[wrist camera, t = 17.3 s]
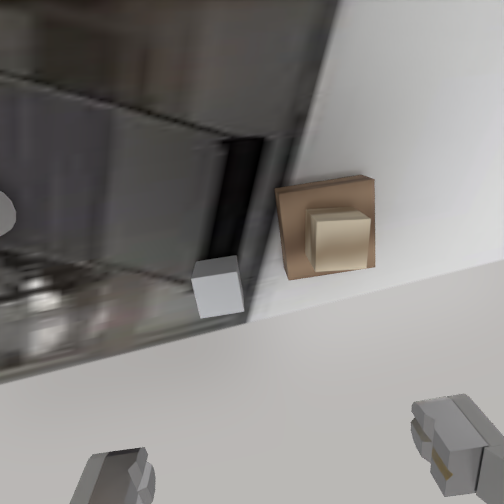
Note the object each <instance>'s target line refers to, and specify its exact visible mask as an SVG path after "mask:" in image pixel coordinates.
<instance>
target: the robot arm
mask: <svg viewBox="0 0 504 504" xmlns="http://www.w3.org/2000/svg"><path fill="white" fill-rule="evenodd" d="M412 413H413V414H414V416H415V418H414V419H413V420H412V422H411V433H412V436H413V440H414V443H415V445H416V447H417V449H418V451H419V453H420V455H421V456H422V457H423V458H424V459H426V460H427V461H429V462H430V463H431V471H430V472H431V474H432V476H433V478H434V479H435V481H436V483H437V485H438V486H439V488H440V490H441V491H442V493H443V495H444V497H448V496H456V495H463V494H470V493H476V495H477V496H478V497H480V498H481V499H482V500H483V501H484V502H486V503H487V504H504V436H503V435H502V434H501V433H500V431H499V430H498V429H497V428H496V427H495V426H494V425H493V423H491V421H490V420H489V419H488V418H487V417H486V416H485V414H484V413H483V412H482V411H481V410H480V409H479V407H478V406H477V405H476V404H475V403H474V402H473V401H472V400H471V398H470V397H469V396H467V395H466V394H459V395H453V396H447V397H439V398H433V399H428V400H422V401H416V402H414V403H413V404H412ZM147 456H148V454H147V451H146V449H145V447H142V448H135V449H127V450H120V451H113V452H106V453H99V454H93V455H92V456H91V457H90V459H89V460H88V461H87V464H86V466H85V468H84V471H83V473H82V476H81V478H80V480H79V483H78V485H77V487H76V490H75V492H74V495H73V497H72V499H71V501H70V504H151V503H152V502H153V498H154V493H155V472H154V468H153V466H152V464H150V463H149V462H147V461H146V460H147Z"/></svg>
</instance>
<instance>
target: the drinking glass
mask: <svg viewBox="0 0 504 504" xmlns="http://www.w3.org/2000/svg"><path fill="white" fill-rule="evenodd" d="M15 222H16V210H15V208H14V206H13V203H12V201H11V200H10V199H9V198H8V197H7V196H6V195H5V194H4V193H3V192H2V191H0V236H1V235H3V234H5V233H7V232H8V231H9V230H11V229H12V228H13V226H14V224H15Z"/></svg>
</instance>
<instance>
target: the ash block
mask: <svg viewBox="0 0 504 504" xmlns="http://www.w3.org/2000/svg"><path fill="white" fill-rule="evenodd" d="M370 224H371V219H370V218H369V217H367V216H366V215H364V214H363V213H361V212H360V211H358V210H357V209H355V208H354V207H337V208H318V209H306V217H305V254H306V256H307V258H308V260H309V262H310V263H311V265H312V267H313V269H314V270H315V272H322V271H339V270H356V269H366V268H367V257H368V246H369V235H370Z"/></svg>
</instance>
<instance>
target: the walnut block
mask: <svg viewBox="0 0 504 504" xmlns="http://www.w3.org/2000/svg"><path fill="white" fill-rule="evenodd" d="M275 195H276V204H277V212H278V221H279V229H280V237H281V246H282V254H283V262H284V269H285V272H286V274H287V277H288V280H295V279H301V278H308V277H314V276H321V275H327V274H334V273H340V272H347V271H353V270H339V271H322V272H315V270H314V269H313V267H312V265H311V263H310V262H309V260H308V258H307V256H306V254H305V217H306V209H318V208H337V207H354V208H355V209H357V210H358V211H360V212H361V213H363V214H364V215H366V216H367V217H369V218H370V219H371V224H370V235H369V246H368V257H367V268H372V267H375V188H374V179H372V178H369V177H366V176H364V175H357V176H351V177H344V178H338V179H331V180H325V181H318V182H312V183H305V184H299V185H293V186H286V187H280V188H275ZM356 270H359V269H356Z"/></svg>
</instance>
